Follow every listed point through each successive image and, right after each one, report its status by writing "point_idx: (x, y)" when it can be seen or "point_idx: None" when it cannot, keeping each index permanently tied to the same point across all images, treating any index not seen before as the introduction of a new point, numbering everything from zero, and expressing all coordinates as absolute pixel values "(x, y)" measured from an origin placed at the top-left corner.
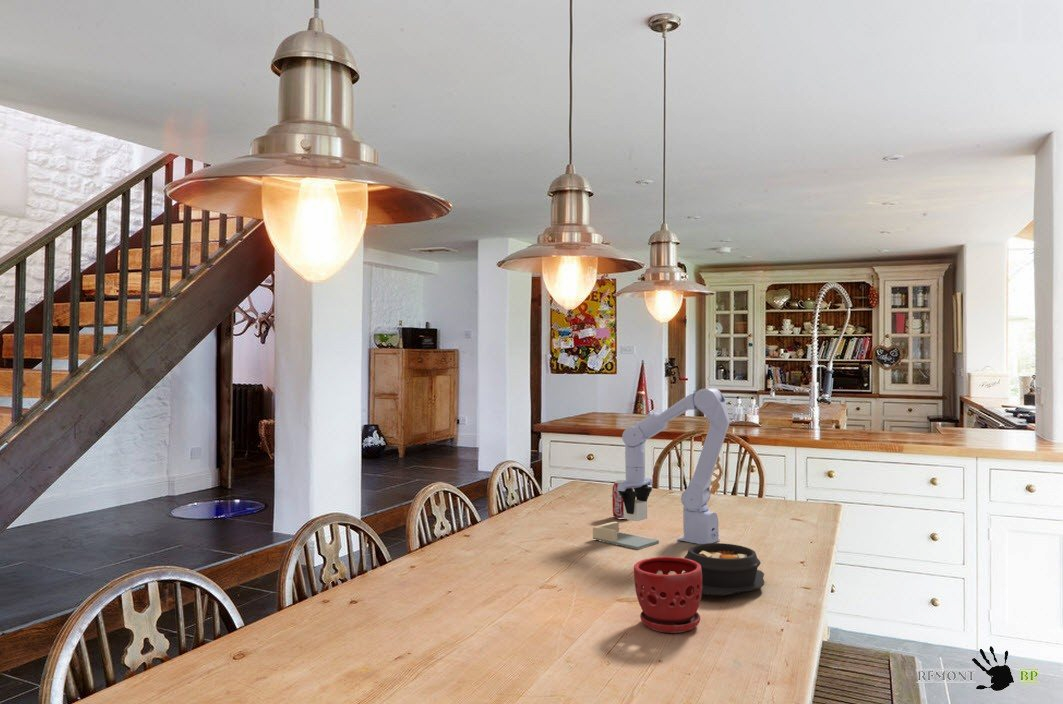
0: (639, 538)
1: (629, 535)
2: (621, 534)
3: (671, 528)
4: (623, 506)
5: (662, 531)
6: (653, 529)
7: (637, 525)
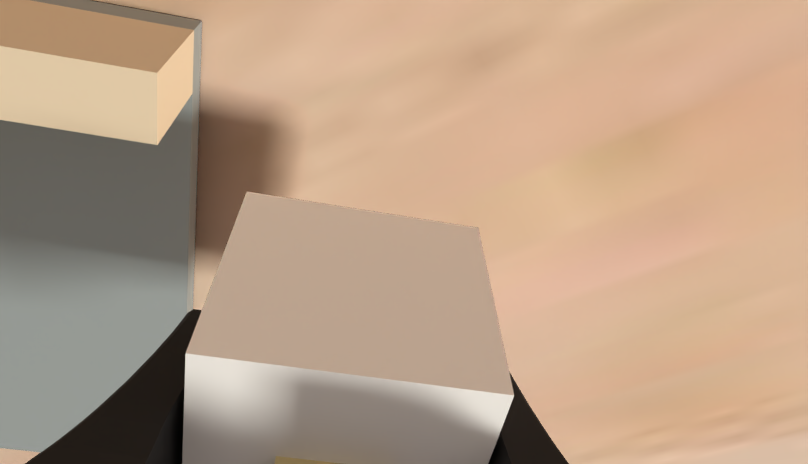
0: (121, 351)
1: (151, 245)
2: (127, 165)
3: (731, 356)
4: (205, 301)
5: (583, 341)
6: (632, 257)
7: (773, 44)
